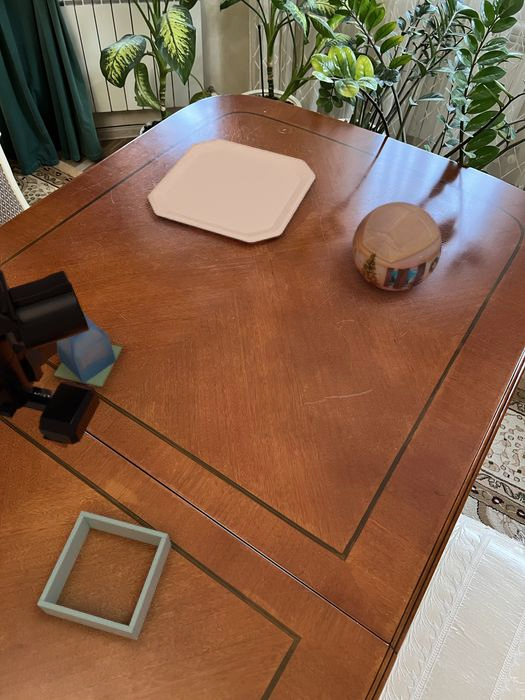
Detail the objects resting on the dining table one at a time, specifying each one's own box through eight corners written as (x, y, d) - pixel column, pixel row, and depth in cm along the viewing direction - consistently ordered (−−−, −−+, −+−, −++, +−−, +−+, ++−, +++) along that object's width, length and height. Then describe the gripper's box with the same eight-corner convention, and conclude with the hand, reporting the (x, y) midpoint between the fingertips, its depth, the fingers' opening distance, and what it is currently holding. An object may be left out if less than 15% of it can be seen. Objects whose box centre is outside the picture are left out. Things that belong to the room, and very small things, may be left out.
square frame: (46, 613, 68) (36, 604, 65) (88, 522, 75) (81, 510, 72) (137, 640, 67) (131, 633, 64) (171, 544, 74) (168, 533, 71)
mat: (54, 376, 90) (53, 374, 89) (77, 338, 94) (76, 336, 94) (101, 387, 88) (101, 386, 88) (122, 348, 93) (121, 346, 93)
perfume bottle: (93, 339, 94) (75, 288, 84) (116, 360, 91) (100, 310, 82) (60, 361, 91) (38, 310, 81) (83, 383, 88) (63, 334, 79)
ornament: (355, 310, 99) (369, 245, 87) (340, 252, 108) (351, 185, 97) (439, 306, 100) (464, 240, 89) (417, 248, 110) (437, 181, 98)
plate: (137, 216, 114) (135, 207, 112) (202, 141, 130) (201, 132, 128) (272, 257, 107) (272, 248, 106) (322, 172, 124) (323, 163, 122)
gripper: (106, 316, 60) (130, 398, 72) (-53, 281, 62) (-3, 366, 75) (56, 403, 53) (92, 477, 65) (-120, 360, 56) (-53, 439, 68)
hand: (31, 435), depth 69 cm, fingers open, 9 cm apart
